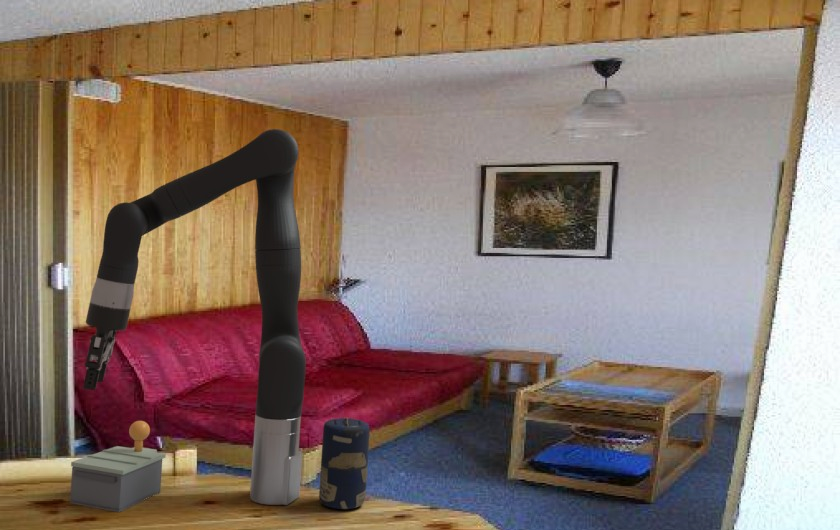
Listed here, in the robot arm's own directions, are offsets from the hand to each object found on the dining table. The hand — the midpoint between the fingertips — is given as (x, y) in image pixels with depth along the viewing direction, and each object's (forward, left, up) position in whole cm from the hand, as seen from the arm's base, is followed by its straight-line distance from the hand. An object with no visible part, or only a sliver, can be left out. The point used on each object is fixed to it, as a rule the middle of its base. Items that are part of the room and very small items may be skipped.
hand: (93, 385), depth 151 cm
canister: (-45, -20, -23) cm, 55 cm away
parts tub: (-4, -3, -22) cm, 23 cm away
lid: (-4, -4, -15) cm, 17 cm away
